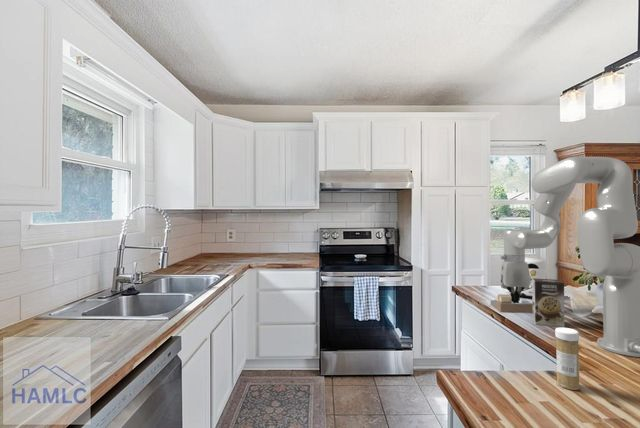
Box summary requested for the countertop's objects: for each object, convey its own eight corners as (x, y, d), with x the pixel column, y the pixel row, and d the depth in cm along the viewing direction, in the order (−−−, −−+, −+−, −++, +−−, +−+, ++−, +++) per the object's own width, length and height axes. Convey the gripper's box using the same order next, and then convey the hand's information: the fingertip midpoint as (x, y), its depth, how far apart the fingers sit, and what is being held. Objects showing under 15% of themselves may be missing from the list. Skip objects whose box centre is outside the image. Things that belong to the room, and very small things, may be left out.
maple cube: (511, 306, 138) (511, 296, 138) (501, 306, 139) (501, 296, 139) (507, 303, 142) (507, 294, 142) (497, 303, 143) (497, 294, 143)
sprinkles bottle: (582, 386, 79) (581, 330, 79) (575, 393, 76) (574, 334, 76) (560, 379, 83) (559, 325, 83) (553, 384, 80) (552, 329, 80)
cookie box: (535, 324, 122) (534, 280, 122) (532, 319, 127) (531, 277, 127) (565, 327, 118) (564, 282, 118) (560, 322, 124) (560, 279, 124)
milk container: (510, 298, 158) (510, 260, 157) (504, 290, 174) (503, 256, 174) (553, 301, 152) (553, 262, 151) (543, 292, 168) (542, 257, 168)
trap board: (539, 312, 135) (539, 304, 135) (500, 312, 137) (500, 303, 137) (526, 305, 146) (526, 297, 146) (490, 304, 148) (490, 297, 148)
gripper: (499, 260, 137) (499, 304, 137) (538, 260, 135) (538, 305, 135) (492, 257, 144) (492, 299, 144) (529, 257, 142) (529, 300, 142)
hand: (515, 302), depth 140 cm, fingers closed
